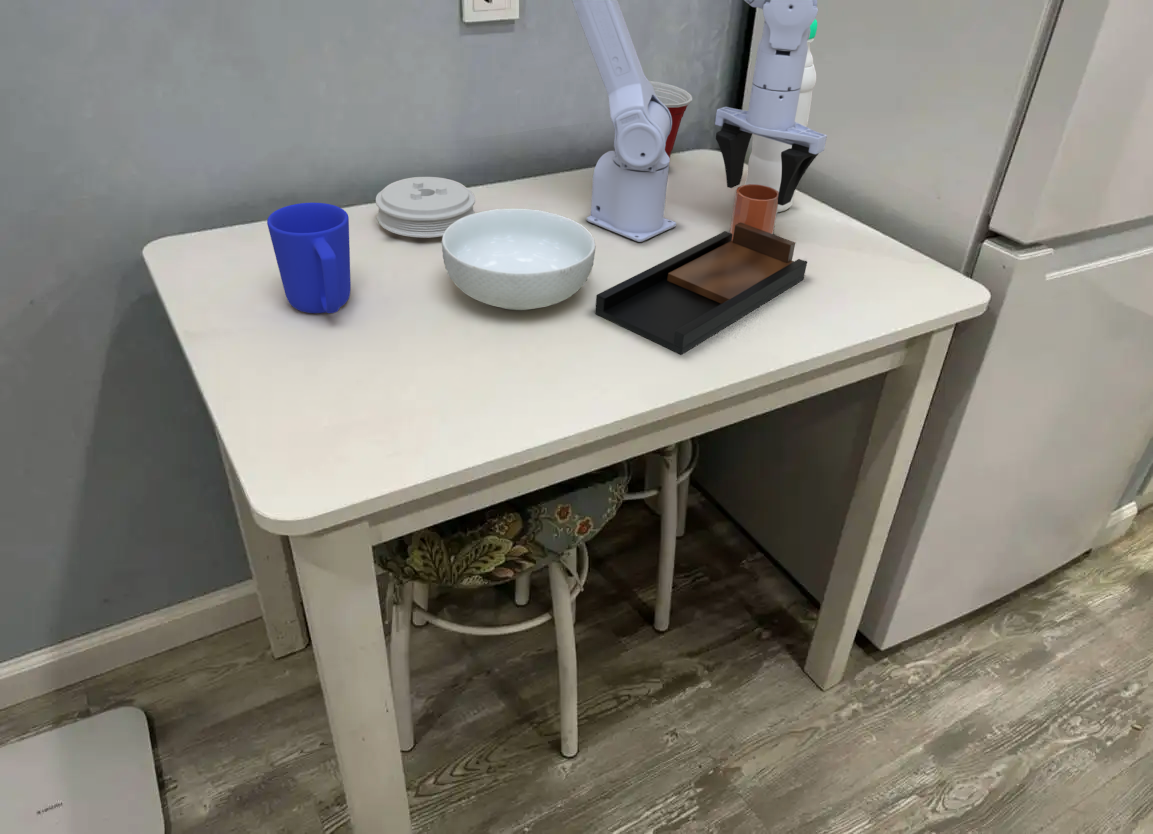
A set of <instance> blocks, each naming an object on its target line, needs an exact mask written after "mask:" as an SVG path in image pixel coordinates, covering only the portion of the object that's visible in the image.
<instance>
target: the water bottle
mask: <svg viewBox="0 0 1153 834" xmlns="http://www.w3.org/2000/svg"><path fill="white" fill-rule="evenodd" d="M817 30H818V21H817V19H816V18H815V20H814V21H813V23H812V24H811V25H810V36H809V39H808V40H807V45H808V52H807V57H806V62H805V68H804V73H803V79H802V84H801V89H800V95H799V100H798V106H797V111H796V117H795V122H797V123H799V124H801V125H803V126H805V127H808V124H809V119H810V115H811V114H810V113H811V109H812V108H811V107H812V100H813V90H814V88H815V86H816V84H817V80H818V79H817V77H818V76H817V71H816V67H815V64H814V57H813V54H812V52H811V44H812V42H814V41H815V37H816V35H817ZM789 148H790V149H791V148H792V145H789V144H785V143H782V142H779V141H775V140H772V139H768V138H765V137H762V136H758V135H755V134H752V142H751V152H750V155H749V157H748V163H747V175H746V179H745V183H744V185H748V184H758V185H764V186H768V187H771V188H774V189H775V190H777V191H778V192H779V189H780V184H781V175H782V161H781V152H782V151H785V150H787V149H789ZM794 197H795V193H794V194H793V196H792V199H791V202H789V203H787V204H785V205H783V206H782V205H779V204H778V210H777V213H781V212H784V211H787V210H788V209H790V208H791V207H792V205H793V204H794V199H795V198H794Z"/></svg>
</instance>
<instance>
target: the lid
mask: <svg viewBox="0 0 1153 834" xmlns="http://www.w3.org/2000/svg"><path fill="white" fill-rule="evenodd" d="M375 204H376V206H377V208H378V213H377V218H376V219H377V222H378V224H379V226H381V227H382V228H383V229H384V230H386V231H388V232H390V233H393V234H395V235H400V236H403V237H411V238H424V239H425V238H428V239H429V238H439V237H440V238H442V237H443V234H444V232H445V230H446V229H447V228H448V227H449V226H450V225H451V224H453V223H454V222H456V221H457V220H459V219H461V218H463V217H466V216H468V215H471V214H474V213H476V212H475V210H474V206H475V204H476V196H475V194H474V193H473V192H472V190H470V189H469V188H468V187H466V186H465V185H463V183H461V182H459V181H456V180H453V179H449V178H445V177H437V176H415V177H414V176H413V177H408V178H402V179H399V180H396V181H393V182H391V183H389V184H387V185H386V186H385V187H384V188H383V189H382V190H381V191H379V192H378V193H377V194H376V196H375Z"/></svg>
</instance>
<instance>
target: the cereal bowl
mask: <svg viewBox="0 0 1153 834" xmlns="http://www.w3.org/2000/svg"><path fill="white" fill-rule="evenodd" d="M596 247H597V245H596V240H595V238H594V236H593V234H592V232H590V230H588V229H587V228H586V227H585V226H584V225H582V224H581V223H580V222H577V221H576V220H573V219H572V218H569V217H567V216H563V215H562V214H558V213H554V212H550V211H545V210H540V209H531V208H496V209H489V210H483V211H479V212H475V213H474V214H471V215H468V216H466V217H463V218H461V219H459V220H457V221H456V222H454V223H453V224H451V225H450V226H449V227H448V228H447V229H446V230H445V232H444V234H443V236H441V253H442V259H443V264H444V267H445V270H446V273H447V275H448V276H449V278H450V280H451V281H452V282H453V284H455V286H456V287H457V288H458V289H459V290H460V291H461V292H463V293H464V294H465V295H466V296H468V297H469V298H472V299H474V300H476V301H478V302H480V303H483V304H486V305H490V306H493V307H497V308H500V309H503V310H510V311H530V310H534V309H540V308H546V307H550V306H552V305H556V304H559V303H561V302H563V301H566V300H567V299H569V298H570V297H572V296H573V295H574V294H576V293H577V292H578V291H579V290H581V288H582V287H583V286H584V285H585V284H586V282H587V281H588V279H589V277H590V275H591V272H592V269H593V266H594V262H595V261H594V260H595V257H596V256H595V255H596V249H597V248H596Z"/></svg>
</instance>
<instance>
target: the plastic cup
mask: <svg viewBox="0 0 1153 834" xmlns="http://www.w3.org/2000/svg"><path fill="white" fill-rule="evenodd" d="M648 81H649V82H650V83H651V85H652V86H653V89H654V92H655V94H656V96H657V98H658V99H659V100H660V101H661V102H662V103H663V104H664V105H665V106H666V107H667V108H668V110H669V112H670V114H671V117H672V128H671V131H670V134H669V135H668V137H667V140H666V146H665V152H666V153H667V155H668V156H669V158H671V154H672V151H673V150H674V147H675V146H674V145H675V142H676V139H677V135H678V132H679V129H680V126H681V122H682V118H683V117H684V115H685V112H686V110H687V108H688V106H689V104H690V103H692V101H693V96H692V94H691V93H689V92H688V91H687V90H686V89H684V88H681V87H678V86H676V85H672V84H668V83H665V82H660V81H652V80H648Z"/></svg>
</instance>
